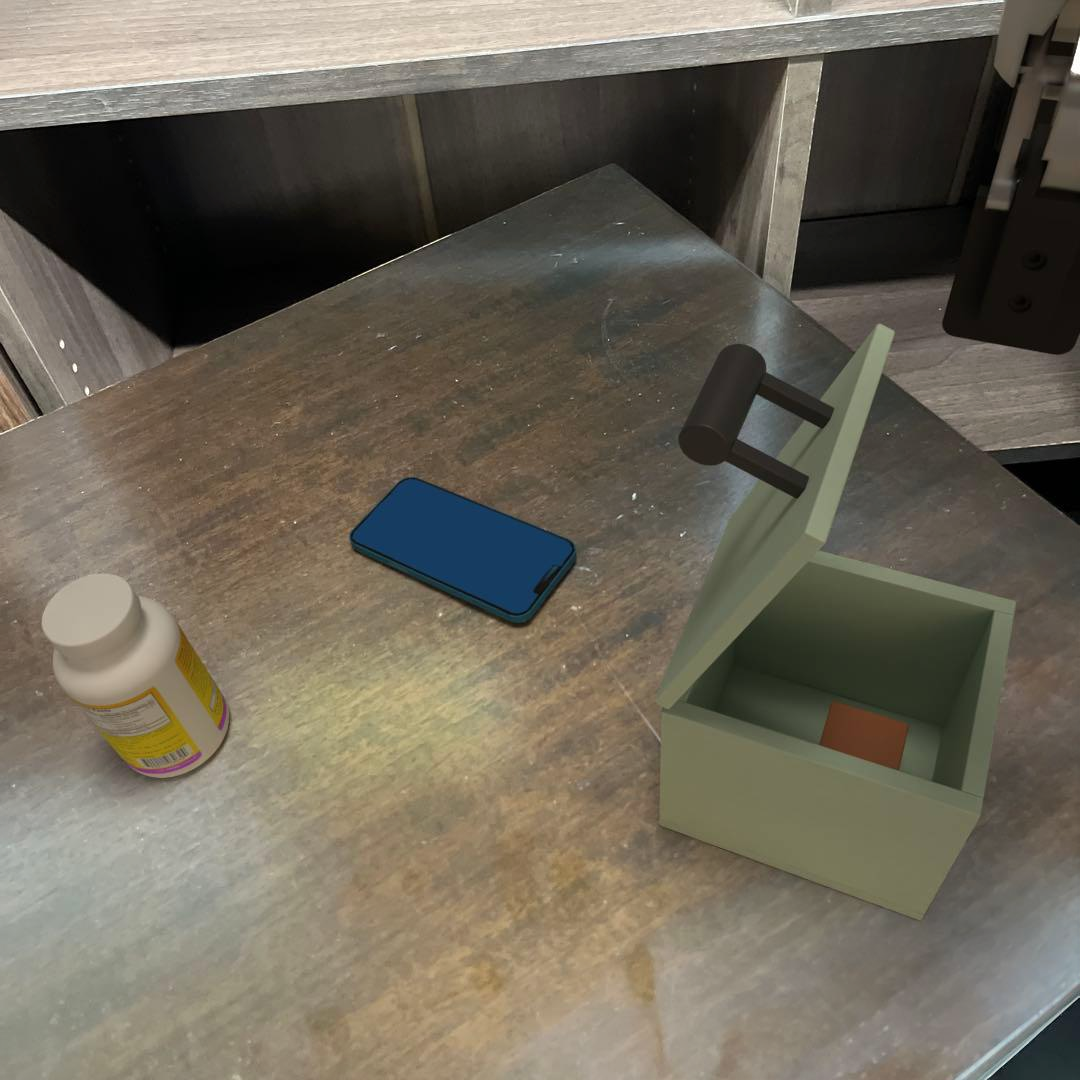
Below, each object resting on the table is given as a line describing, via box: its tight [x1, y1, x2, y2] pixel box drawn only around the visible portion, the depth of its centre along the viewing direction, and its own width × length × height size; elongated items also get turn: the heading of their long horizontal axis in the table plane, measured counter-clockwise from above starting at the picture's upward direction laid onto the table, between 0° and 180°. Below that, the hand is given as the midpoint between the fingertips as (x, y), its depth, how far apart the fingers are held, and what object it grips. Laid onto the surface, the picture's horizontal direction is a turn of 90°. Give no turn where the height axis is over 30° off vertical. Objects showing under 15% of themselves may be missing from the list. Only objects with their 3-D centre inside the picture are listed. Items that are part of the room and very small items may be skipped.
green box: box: [658, 549, 1017, 921], centre depth 51 cm, size 14×12×12 cm
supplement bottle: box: [41, 572, 230, 779], centre depth 56 cm, size 7×7×13 cm
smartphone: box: [348, 476, 578, 624], centre depth 68 cm, size 7×1×15 cm
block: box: [819, 701, 909, 771], centre depth 52 cm, size 4×4×4 cm
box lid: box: [653, 322, 896, 709], centre depth 42 cm, size 15×12×6 cm
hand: (1027, 238), depth 29 cm, fingers open, 9 cm apart
